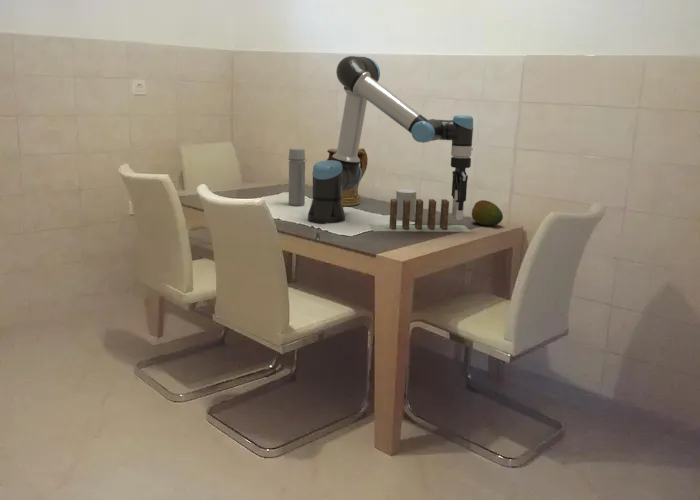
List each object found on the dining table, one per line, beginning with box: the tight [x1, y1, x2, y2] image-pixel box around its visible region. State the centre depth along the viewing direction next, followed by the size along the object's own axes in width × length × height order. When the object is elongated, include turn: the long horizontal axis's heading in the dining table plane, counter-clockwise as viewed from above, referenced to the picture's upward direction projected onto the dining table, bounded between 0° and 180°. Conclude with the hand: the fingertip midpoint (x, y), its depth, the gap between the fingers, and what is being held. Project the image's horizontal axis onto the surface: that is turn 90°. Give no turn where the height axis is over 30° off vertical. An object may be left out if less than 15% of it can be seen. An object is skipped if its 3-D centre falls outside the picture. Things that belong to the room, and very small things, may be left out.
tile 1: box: [389, 198, 398, 230], centre depth 261 cm, size 2×5×11 cm, turn 6°
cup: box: [395, 188, 418, 222], centre depth 279 cm, size 8×8×12 cm
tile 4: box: [426, 198, 437, 230], centre depth 263 cm, size 2×5×11 cm, turn 6°
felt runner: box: [369, 224, 472, 233], centre depth 264 cm, size 38×11×1 cm, turn 96°
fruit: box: [471, 199, 504, 227], centre depth 273 cm, size 12×13×10 cm
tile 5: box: [439, 199, 450, 230], centre depth 263 cm, size 2×5×11 cm, turn 6°
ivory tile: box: [452, 190, 462, 221], centre depth 263 cm, size 2×5×11 cm, turn 6°
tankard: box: [326, 147, 369, 207], centre depth 310 cm, size 18×24×25 cm
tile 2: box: [401, 199, 410, 230], centre depth 262 cm, size 2×5×11 cm, turn 6°
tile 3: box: [414, 198, 424, 230], centre depth 262 cm, size 2×5×11 cm, turn 6°
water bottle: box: [288, 147, 307, 207], centre depth 301 cm, size 9×8×25 cm
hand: (457, 216), depth 264 cm, fingers closed on ivory tile, 5 cm apart
